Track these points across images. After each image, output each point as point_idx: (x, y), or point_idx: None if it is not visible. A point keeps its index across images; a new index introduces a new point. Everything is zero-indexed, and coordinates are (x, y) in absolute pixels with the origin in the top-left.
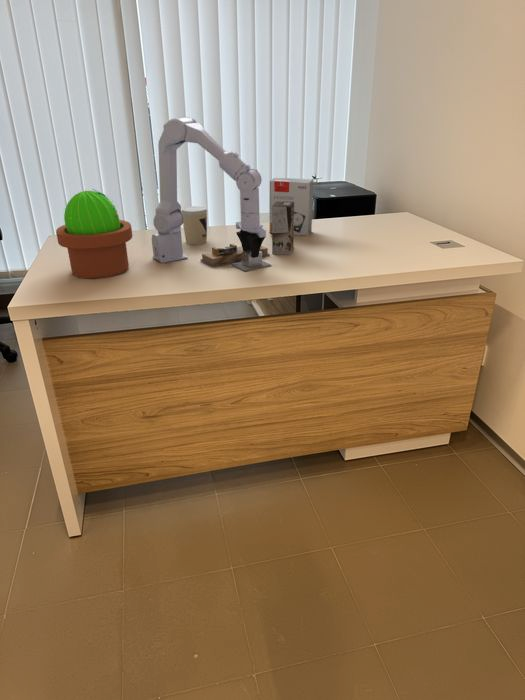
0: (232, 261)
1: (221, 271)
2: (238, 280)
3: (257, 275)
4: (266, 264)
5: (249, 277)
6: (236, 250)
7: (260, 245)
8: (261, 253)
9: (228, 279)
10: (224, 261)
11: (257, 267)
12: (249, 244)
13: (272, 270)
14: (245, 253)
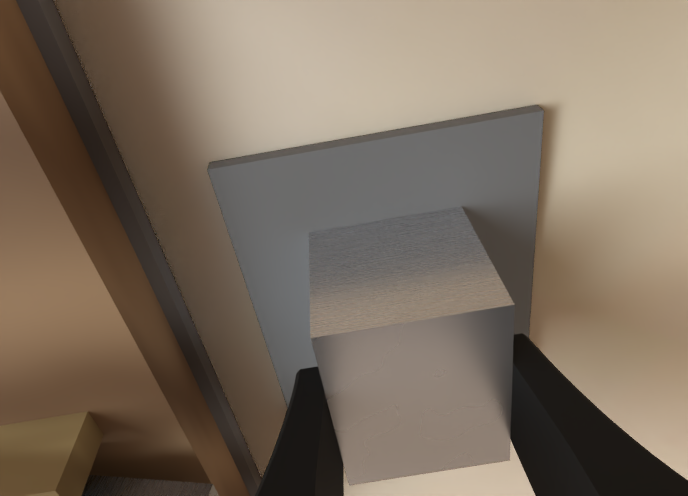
0: (225, 412)
1: (404, 489)
2: (657, 451)
3: (678, 328)
4: (491, 161)
5: (666, 386)
6: (212, 489)
7: (651, 464)
8: (508, 303)
9: None
10: (235, 472)
11: (525, 282)
12: (323, 488)
13: (678, 159)
14: (428, 466)
